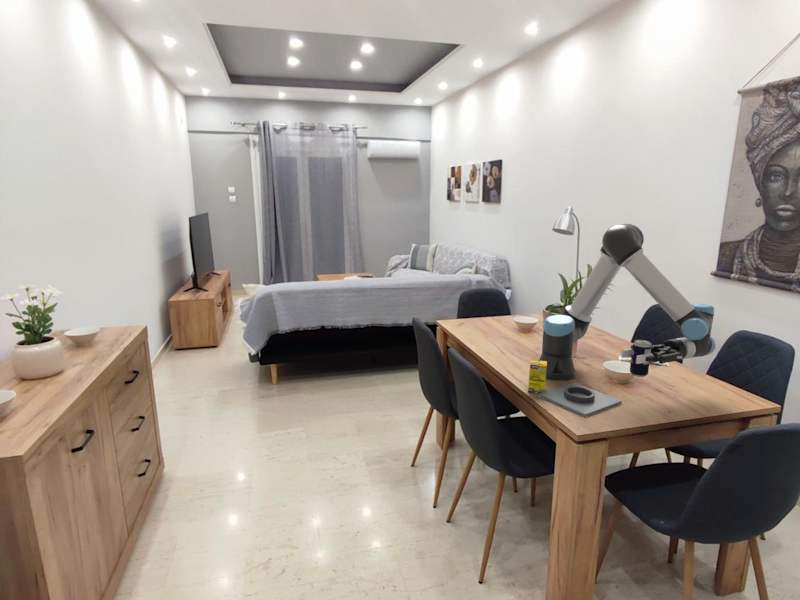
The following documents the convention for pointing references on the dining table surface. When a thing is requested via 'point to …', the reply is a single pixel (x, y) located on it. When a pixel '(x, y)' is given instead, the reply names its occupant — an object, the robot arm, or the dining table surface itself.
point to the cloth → (650, 362)
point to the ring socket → (580, 399)
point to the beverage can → (638, 349)
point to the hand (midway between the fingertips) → (629, 356)
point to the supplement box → (537, 376)
